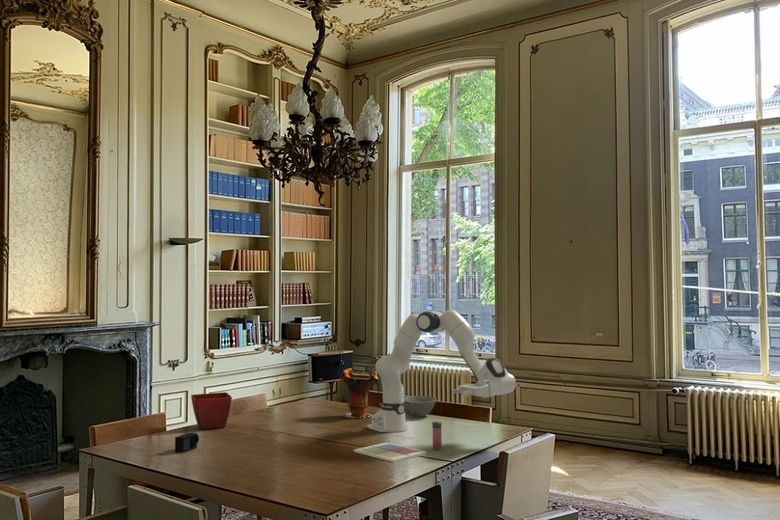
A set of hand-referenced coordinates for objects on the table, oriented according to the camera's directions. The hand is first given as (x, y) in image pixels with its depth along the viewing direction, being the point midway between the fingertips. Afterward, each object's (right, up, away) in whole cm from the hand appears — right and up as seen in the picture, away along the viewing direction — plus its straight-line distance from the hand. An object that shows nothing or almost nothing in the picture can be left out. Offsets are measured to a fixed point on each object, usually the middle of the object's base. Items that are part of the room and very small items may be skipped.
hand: (457, 392), depth 295 cm
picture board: (-32, -24, -13) cm, 42 cm away
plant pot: (-128, -29, +49) cm, 140 cm away
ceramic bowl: (-16, -30, +76) cm, 83 cm away
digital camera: (-124, -26, -4) cm, 127 cm away
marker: (-10, -24, -6) cm, 27 cm away
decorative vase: (-49, -30, +77) cm, 96 cm away
